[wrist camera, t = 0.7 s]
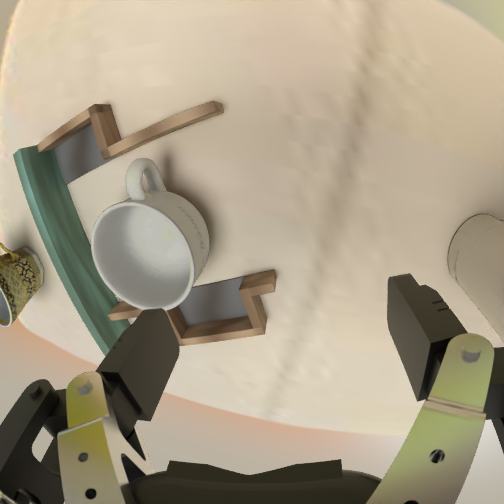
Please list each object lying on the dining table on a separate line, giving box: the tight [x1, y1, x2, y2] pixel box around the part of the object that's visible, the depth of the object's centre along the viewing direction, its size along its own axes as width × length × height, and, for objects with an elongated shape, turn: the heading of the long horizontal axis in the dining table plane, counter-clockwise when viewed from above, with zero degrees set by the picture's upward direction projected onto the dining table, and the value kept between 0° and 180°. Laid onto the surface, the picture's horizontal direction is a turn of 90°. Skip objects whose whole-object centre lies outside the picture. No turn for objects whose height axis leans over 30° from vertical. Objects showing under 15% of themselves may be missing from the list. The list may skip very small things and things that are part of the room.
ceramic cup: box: [0, 243, 44, 327], centre depth 32 cm, size 13×10×10 cm
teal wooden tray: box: [13, 101, 277, 357], centre depth 29 cm, size 23×29×6 cm
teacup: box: [91, 158, 210, 311], centre depth 28 cm, size 14×11×8 cm
